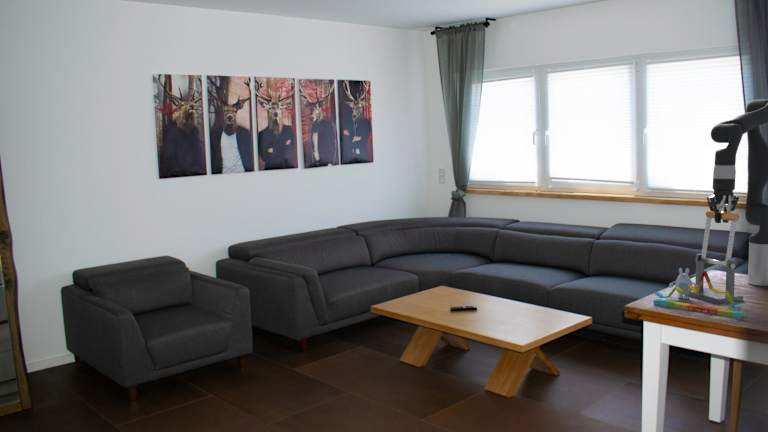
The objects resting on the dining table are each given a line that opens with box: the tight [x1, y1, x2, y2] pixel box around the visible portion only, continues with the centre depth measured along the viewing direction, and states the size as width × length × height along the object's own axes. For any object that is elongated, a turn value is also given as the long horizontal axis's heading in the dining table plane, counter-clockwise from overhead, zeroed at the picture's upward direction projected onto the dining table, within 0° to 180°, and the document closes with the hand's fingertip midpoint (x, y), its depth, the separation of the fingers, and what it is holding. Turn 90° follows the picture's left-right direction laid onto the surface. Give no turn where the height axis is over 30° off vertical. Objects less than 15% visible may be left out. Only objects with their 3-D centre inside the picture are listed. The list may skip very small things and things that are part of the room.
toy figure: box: [668, 267, 698, 300], centre depth 263 cm, size 11×6×12 cm, turn 63°
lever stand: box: [687, 253, 744, 305], centre depth 262 cm, size 12×18×16 cm
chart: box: [652, 270, 744, 319], centre depth 246 cm, size 30×3×15 cm, turn 43°
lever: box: [700, 209, 740, 268], centre depth 260 cm, size 3×13×20 cm, turn 19°
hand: (721, 222), depth 260 cm, fingers closed on lever, 3 cm apart
